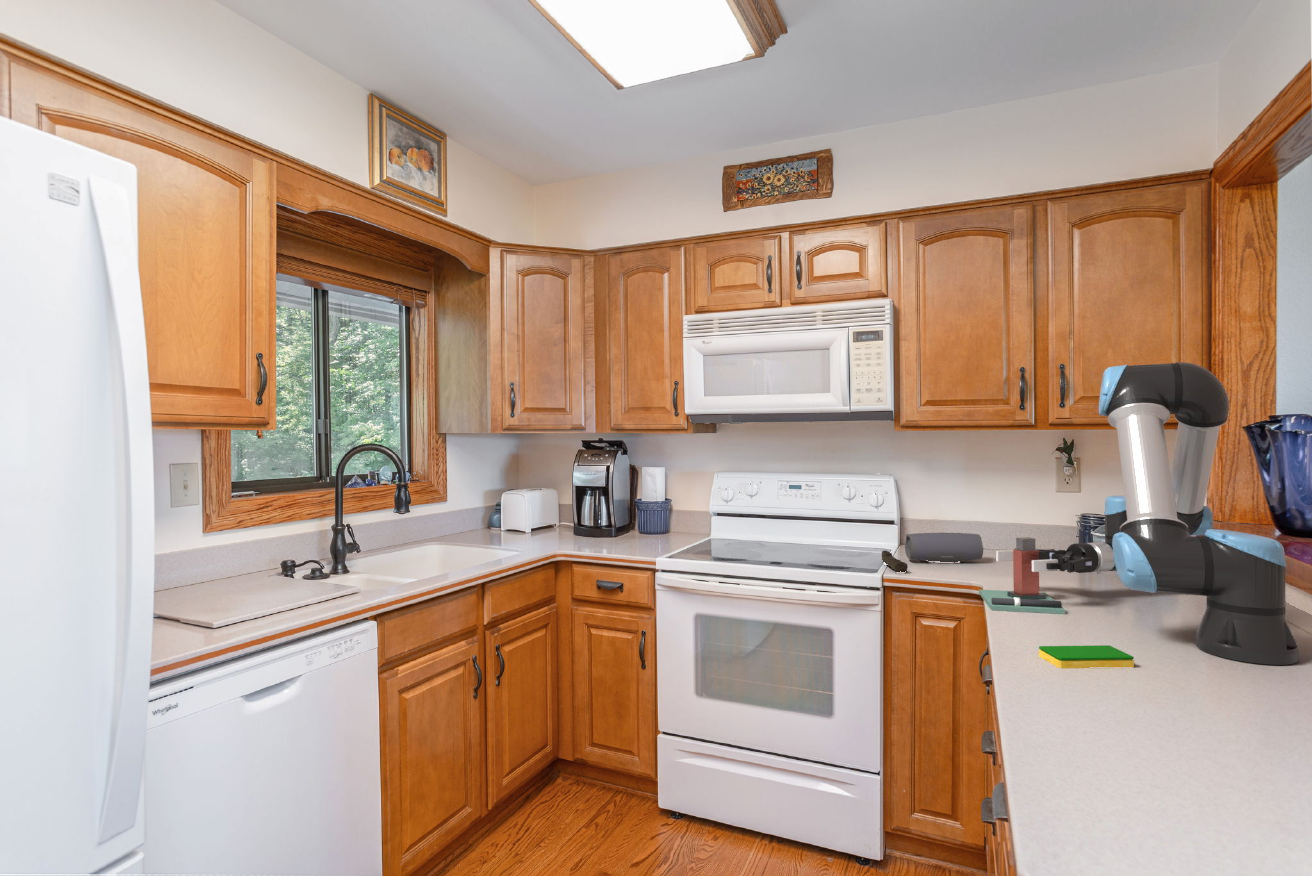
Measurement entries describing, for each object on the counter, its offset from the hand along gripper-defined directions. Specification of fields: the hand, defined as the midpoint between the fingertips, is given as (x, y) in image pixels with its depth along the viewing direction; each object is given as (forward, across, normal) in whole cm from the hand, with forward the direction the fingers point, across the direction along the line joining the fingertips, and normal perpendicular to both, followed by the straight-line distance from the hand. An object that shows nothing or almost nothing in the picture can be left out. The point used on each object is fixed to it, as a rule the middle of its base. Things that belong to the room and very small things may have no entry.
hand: (1014, 561), depth 173 cm
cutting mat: (-1, -1, -10) cm, 11 cm away
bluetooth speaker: (-12, +52, -11) cm, 55 cm away
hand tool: (+9, +48, -11) cm, 50 cm away
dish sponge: (+17, -43, -11) cm, 47 cm away
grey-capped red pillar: (-3, 0, -10) cm, 10 cm away
